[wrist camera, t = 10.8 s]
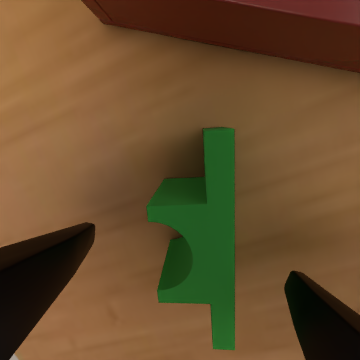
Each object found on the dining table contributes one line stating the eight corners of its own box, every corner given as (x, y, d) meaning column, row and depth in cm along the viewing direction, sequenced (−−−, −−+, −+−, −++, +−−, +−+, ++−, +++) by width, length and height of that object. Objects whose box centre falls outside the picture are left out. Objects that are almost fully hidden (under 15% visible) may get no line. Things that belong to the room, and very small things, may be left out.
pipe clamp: (159, 131, 12) (136, 134, 8) (221, 126, 12) (235, 127, 7) (174, 283, 15) (163, 349, 11) (224, 284, 15) (235, 353, 10)
